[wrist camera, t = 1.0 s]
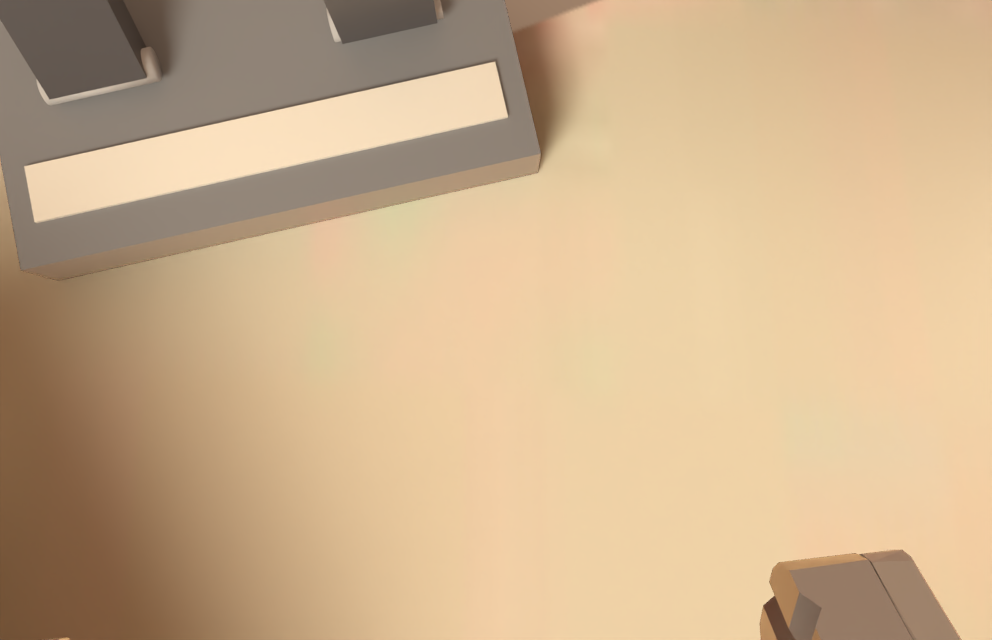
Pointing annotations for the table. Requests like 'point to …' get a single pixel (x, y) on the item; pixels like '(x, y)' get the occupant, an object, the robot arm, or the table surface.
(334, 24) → the lever
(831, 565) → the robot arm
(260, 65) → the breaker panel
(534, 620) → the table surface
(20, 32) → the lever
